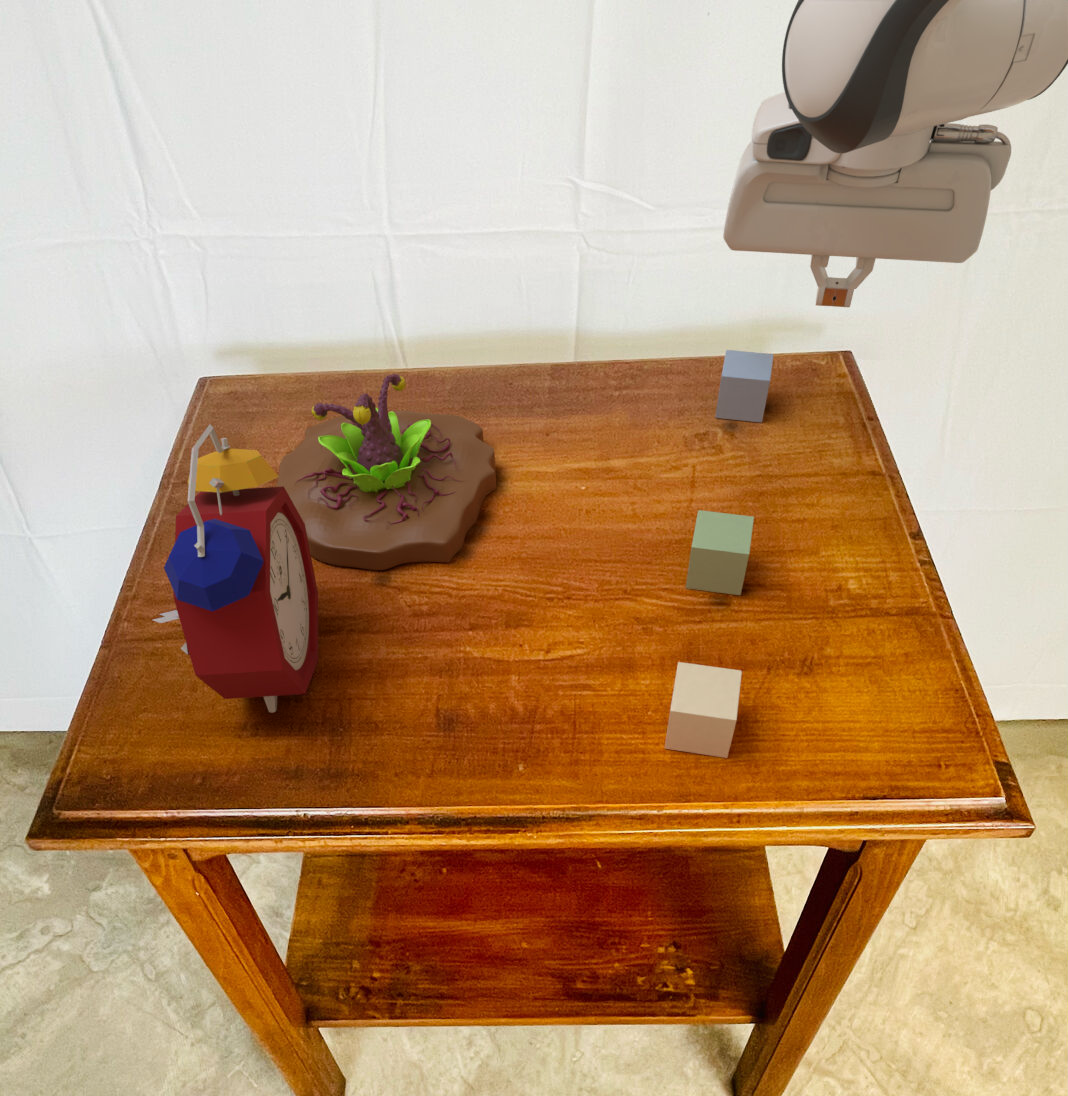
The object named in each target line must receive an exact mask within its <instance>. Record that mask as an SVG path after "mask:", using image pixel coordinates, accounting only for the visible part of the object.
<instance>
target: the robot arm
mask: <svg viewBox="0 0 1068 1096" xmlns="http://www.w3.org/2000/svg"><path fill="white" fill-rule="evenodd" d="M781 54H782V56H781V77H782V85H783V90H784V91H783V92H780V93H777V94H774V95H770V96H768V97H766V98H765V99H764V100H763V101H761V103H760V105H759V107H758V109H757V111H756V113H755V116H754V118H753V119H754V120H753V123H752V128H751V141H750V142H749V143H748V144H747V146H746V147H745V149H744V151H743V153H742V154H741V157H740V160H739V162H738V165H737V170H736V173H735V177H734V180H733V184H732V188H731V193H730V196H729V201H728V204H727V205H728V206H727V210H726V216H725V220H724V227H723V234H722V238H723V240H724V242H725V244H726V246H727V247H728V248H729V250H731V251H735V252H753V253H754V252H756V253H771V254H772V253H773V254H789V255H806V256H807V255H808V256H810V258H811V259H810V265H809V266H810V270H811V273H812V276H813V278H814V280H815V283H816V285H817V291H816V295H815V306H819V307H837V308H850V307H851V304H852V300H853V296H854V292H855V290H857V289H858V287H859V286H860V285H861V284H862V283H863V282H864V281H865V280H866V279H867V278H868V277H869V275H870V274H872V272H873V271H874V266H875V262H876V260H878V259H879V260H895V261H896V260H897V261H914V262H915V261H916V262H930V263H931V262H933V263H947V264H948V263H949V264H962V263H965V262H966V261H968V260H969V259H970V258H971V257H972V256H974V255H975V253H976V252H978V250H979V248H980V247H979V246H980V244H981V240H982V237H983V233H984V229H985V225H986V220H987V216H988V211H989V205H990V199H991V192H992V191H993V190H994V189H995V188H996V187H998V185H999V184H1000V183H1001V182H1002V180H1003V178H1004V176H1005V174H1006V171H1007V168H1008V165H1009V161H1010V159H1011V156H1012V144H1011V141H1010V138H1009V137H1008V136H1007V135H1006V134H1005V133H1003V132H1001V131H998V130H999V128H998V126H996V125H994V124H993V125H992V124H979V125H968V124H962V123H954V122H958V121H962V120H965V119H968V118H971V117H975V116H979V115H984V114H989V113H992V112H996V111H1000V110H1004V109H1008V108H1010V107H1013V106H1016V105H1018V104H1022V103H1024V102H1026V101H1029V100H1032V99H1035V98H1037V97H1039V96H1040V95H1042V94H1043V93H1044V92H1046V91H1047V90H1048V89H1049V88H1050V87H1051V86H1053V84H1054V83H1055V82H1056V80H1058V78H1059V77H1060V76H1061V74H1062V73H1063V72H1064V70H1065V69H1066V68H1067V66H1068V0H797V2H796V5H795V7H794V9H793V11H792V13H791V16H790V19H789V22H788V24H787V28H786V32H785V35H784V39H783V47H782V53H781ZM996 139H997V140H996ZM995 140H996V141H995ZM998 140H999V141H998ZM830 257H841V258H856V259H855V267H854V269H853V270H852V271H851V272H850V273H849V275H848V276H847V277H831V276H829V275H828V273H827V269H826V268H827V267H828V266H829V260H830Z"/></svg>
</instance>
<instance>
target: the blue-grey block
mask: <svg viewBox="0 0 1068 1096" xmlns="http://www.w3.org/2000/svg"><path fill="white" fill-rule="evenodd" d="M773 363H774V353H768V352H767V353H765V352H755V351H745V350H734V349H726V350H725V354H724V360H723V364H722V365H723V366H722V371H721V375H720V376H721V377H720V383H719V389H718V397H717V404H716V408H715V416H714V418H715V419H721V420H722V419H723V420H731V421H741V422H750V423H759V424H760V423H761V424H762V423H763V421H764V415H765V409H766V405H767V399H768V395H769V394H768V393H769V389H770V386H771V385H770V384H771V380H772V370H773Z"/></svg>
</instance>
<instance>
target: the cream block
mask: <svg viewBox="0 0 1068 1096" xmlns="http://www.w3.org/2000/svg"><path fill="white" fill-rule="evenodd" d="M742 675H743V671H742V670H740V669H733V668H725V667H718V666H711V665H703V664H697V663H690V662H682V661H678V662H677V666H676V671H675V678H674V683H673V689H672V690H673V691H672V697H671V702H670V709H669V716H668V722H667V730H666V735H665V736H666V737H665V741H664V742H665V743H664V749H666V750H672V751H678V752H684V753H690V754H697V755H705V756H711V757H717V758H722V759H723V758H724V759H728V757H729V754H730V753H729V752H730V750H731V745H732V741H733V737H734V734H735V729H736V725H737V721H738V712H739V703H740V694H741V684H742Z"/></svg>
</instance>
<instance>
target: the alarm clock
mask: <svg viewBox="0 0 1068 1096" xmlns="http://www.w3.org/2000/svg"><path fill="white" fill-rule="evenodd" d="M208 436H209V437H210V440H211V442H212V444H213V446H214V449H215V451H213V452H210V453H207V454H205V455H203V456H200V457H199V450H200V447H201V446H202V445H203V443H204V442H205V440H207V438H208ZM220 442H221V443H220ZM278 477H279V474H278V473H277V472H276V471H275V470H274V468H272V467H271V465H270V464H269V462H268V461H267V460H266V459H265V457H263V456H262V455H261V453H260V452H259V451H258V450H257V449H247V448H246V449H245V448H232V447H231V445H229V441H228V438H227V437H222V438H220V440H219V438H218V435H217V432H216V430H215V428H214V426H213V425H211V423H210V424H208V426H207V427H206V429H205V430H203V433H202V434H201V435H200V436H199V438H198V439H197V441H196V442H195V443H194V445H193V446H192V448H191V454H190V464H189V476H188V478H187V482H186V483H187V485H188V488H187V501H186V502H187V504H186V506H184V507H183V508H182V509H181V510H180V511H179V512H178V513H177V515H175V531H174V532H173V533H172V534H173V535H174V544H173V547H172V549H171V551H170V553H169V555H168V557H167V560H166V562H165V564H164V565H163V569H164V571H165V573H166V576H167V579H168V581H169V583H170V586H171V588H172V590H173V591H172V592H173V594H172V597H173V600H174V604H175V608H176V609H174V610H171V611H167V612H162V613H159V614H158V615H159V616H161V617H158V618H154V619H152V621H153V622H156V623H159V624H163V623H167V622H170V621H175V620H179V622H180V626H181V629H182V633H183V637H184V639H185V643H184V644H183V645H182V646H181V648H180V650H181V651H183V652H184V653H185V654H186V655H187V656H189V657H190V660H191V661H190V662H191V664H192V668H193V671H194V675H195V676H196V677H197V678H198V679H199V680H201V681H202V682H203V683H204V684H206V685H207V686H208V687H209V688H210V689H212V690H213V691H214V692H215V693H217V694H218V695H219V696H220V697H221V698H223V699H224V700H229V699H247V698H263V700H264V703H265V705H266V708H267V711H268V713H271V714H272V713H275V712H277V711H278V696H279V697H280V696H282V697H283V696H295V695H297V696H298V695H306V693H307V690H308V688H309V685H310V682H311V680H312V677H313V675H314V672H315V670H316V667H317V665H318V662H319V592H318V586H317V580H316V576H315V571H314V567H313V560H312V556H311V554H310V549H309V544H308V538H307V533H306V528H305V524H304V522H303V520H302V518H301V516H300V515H299V513H298V511H297V509H296V507H295V506H294V504H293V502H292V500H291V498H290V497H289V495H288V493H287V491H286V489H285V488H284V486H282V487H276V486H270V487H269V486H267V487H266V486H265V487H261V486H263V485H265V484H267V483H269V482H271V481H273V480H275V479H278ZM196 492H198V493H197V494H196Z"/></svg>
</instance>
